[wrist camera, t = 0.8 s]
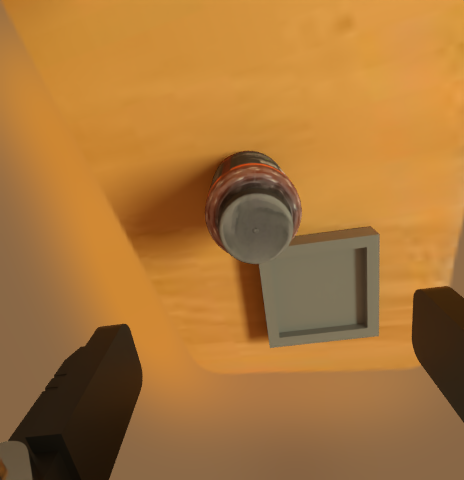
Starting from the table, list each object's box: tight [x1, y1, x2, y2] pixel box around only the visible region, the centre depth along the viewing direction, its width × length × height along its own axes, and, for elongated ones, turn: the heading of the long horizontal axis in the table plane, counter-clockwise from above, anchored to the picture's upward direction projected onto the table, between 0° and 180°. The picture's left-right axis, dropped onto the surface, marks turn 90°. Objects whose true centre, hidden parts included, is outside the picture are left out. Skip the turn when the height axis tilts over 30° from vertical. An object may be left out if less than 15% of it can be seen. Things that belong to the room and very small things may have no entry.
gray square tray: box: [259, 226, 379, 348], centre depth 30 cm, size 10×10×2 cm
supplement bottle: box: [205, 151, 302, 264], centre depth 23 cm, size 6×6×11 cm
